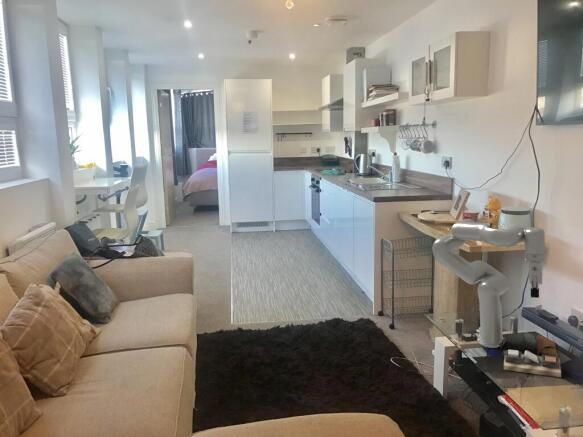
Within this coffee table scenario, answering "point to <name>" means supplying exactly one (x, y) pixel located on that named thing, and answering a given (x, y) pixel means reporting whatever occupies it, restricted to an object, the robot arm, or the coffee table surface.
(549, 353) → the sunglasses case
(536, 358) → the rocker
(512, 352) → the button left
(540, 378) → the coffee table surface
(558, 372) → the switch panel
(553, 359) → the button right
